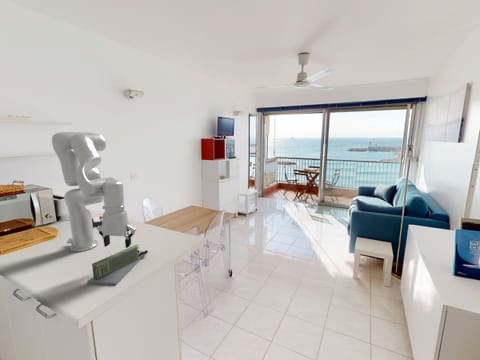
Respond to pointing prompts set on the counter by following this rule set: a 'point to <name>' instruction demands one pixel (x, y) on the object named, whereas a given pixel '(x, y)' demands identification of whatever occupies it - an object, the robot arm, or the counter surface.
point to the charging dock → (116, 274)
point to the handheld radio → (116, 261)
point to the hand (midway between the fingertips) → (117, 245)
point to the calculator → (97, 221)
